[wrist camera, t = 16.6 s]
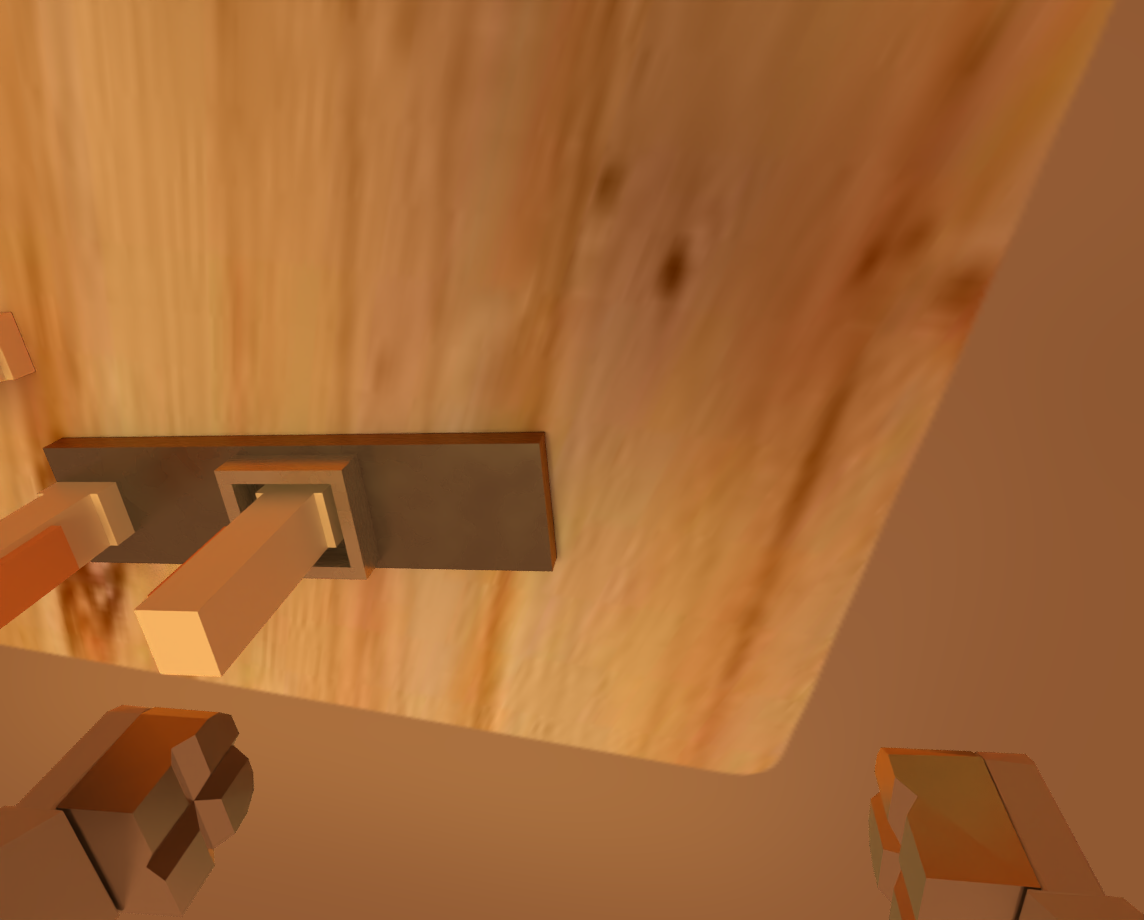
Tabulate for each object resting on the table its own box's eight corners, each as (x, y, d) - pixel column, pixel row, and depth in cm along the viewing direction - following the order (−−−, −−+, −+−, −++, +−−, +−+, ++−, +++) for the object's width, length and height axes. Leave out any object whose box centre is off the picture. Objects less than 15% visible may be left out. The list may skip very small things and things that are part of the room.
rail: (62, 437, 44) (14, 462, 41) (544, 432, 39) (531, 460, 36) (107, 549, 48) (67, 580, 45) (556, 556, 43) (546, 592, 40)
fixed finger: (57, 481, 44) (-147, 602, 33) (116, 481, 43) (-72, 604, 33) (78, 531, 45) (-111, 662, 35) (136, 532, 45) (-38, 665, 34)
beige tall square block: (267, 480, 42) (121, 609, 31) (334, 480, 41) (208, 611, 30) (282, 533, 43) (148, 673, 32) (347, 533, 42) (231, 677, 32)
